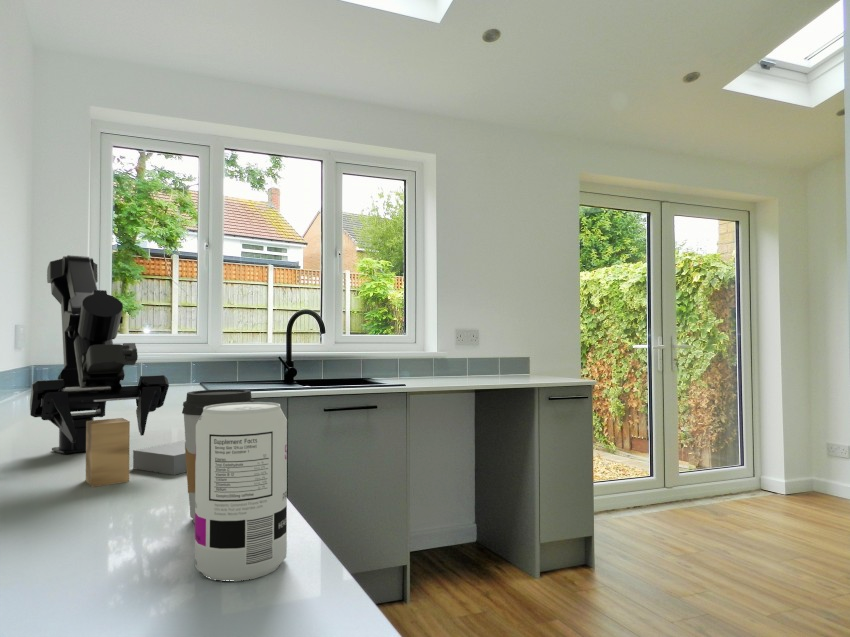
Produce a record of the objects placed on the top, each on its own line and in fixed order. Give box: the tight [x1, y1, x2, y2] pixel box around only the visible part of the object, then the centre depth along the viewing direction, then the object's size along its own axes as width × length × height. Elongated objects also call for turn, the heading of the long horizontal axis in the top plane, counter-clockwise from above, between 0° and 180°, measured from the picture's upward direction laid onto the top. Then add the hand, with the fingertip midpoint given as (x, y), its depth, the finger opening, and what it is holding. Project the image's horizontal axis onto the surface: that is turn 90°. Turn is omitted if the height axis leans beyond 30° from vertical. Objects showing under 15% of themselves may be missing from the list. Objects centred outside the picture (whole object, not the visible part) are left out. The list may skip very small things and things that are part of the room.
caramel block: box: [85, 417, 131, 488], centre depth 88 cm, size 5×5×9 cm
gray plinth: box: [132, 440, 187, 476], centre depth 98 cm, size 10×10×3 cm
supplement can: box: [194, 401, 288, 582], centre depth 55 cm, size 8×8×15 cm
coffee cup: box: [181, 388, 255, 524], centre depth 69 cm, size 8×8×15 cm
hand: (109, 437), depth 87 cm, fingers open, 9 cm apart
